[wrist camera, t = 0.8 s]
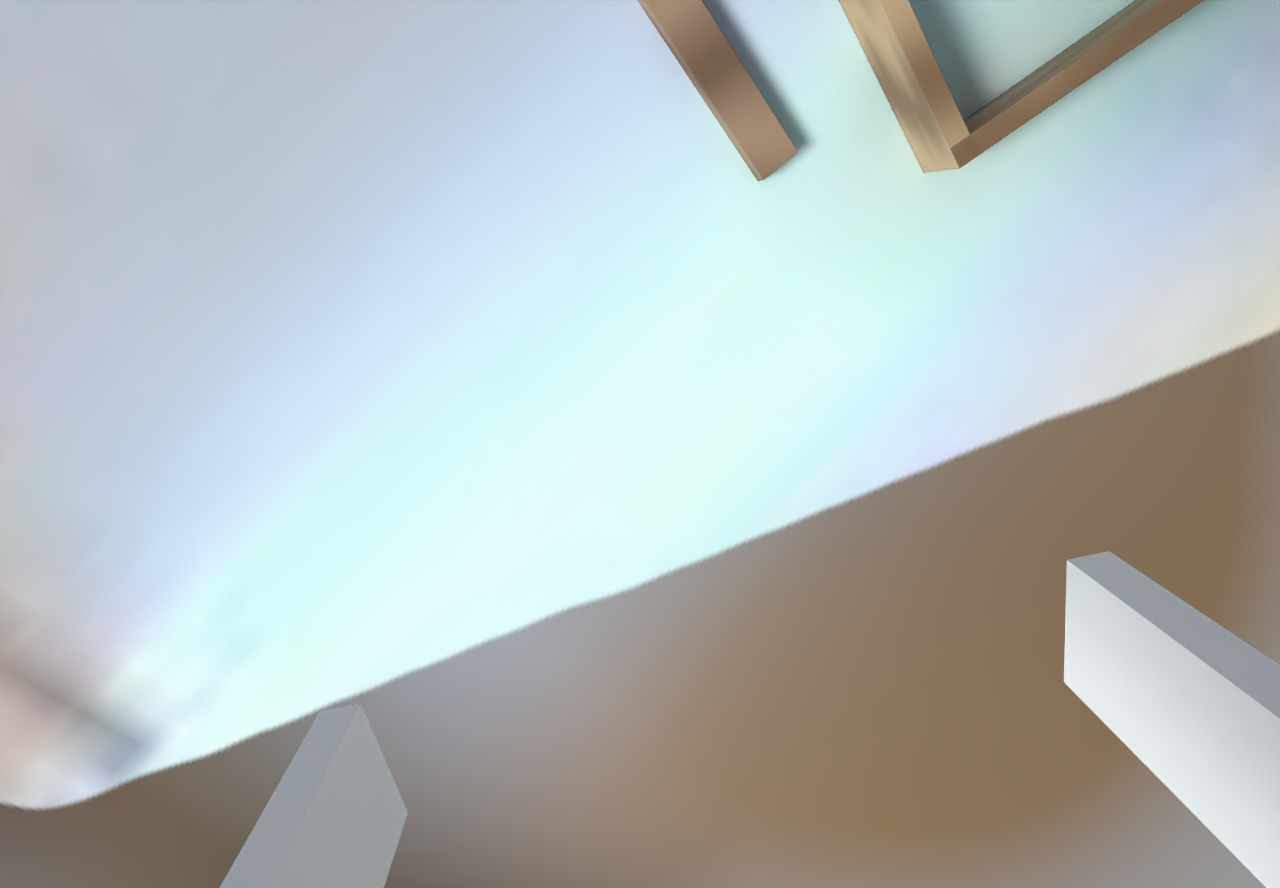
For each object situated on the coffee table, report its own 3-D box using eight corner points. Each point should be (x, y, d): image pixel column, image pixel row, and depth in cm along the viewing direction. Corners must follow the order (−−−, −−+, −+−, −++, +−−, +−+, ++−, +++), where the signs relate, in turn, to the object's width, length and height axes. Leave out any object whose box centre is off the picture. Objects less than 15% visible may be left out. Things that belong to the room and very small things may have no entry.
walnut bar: (605, -45, 30) (606, -59, 28) (640, -77, 29) (642, -93, 28) (756, 181, 33) (763, 180, 32) (788, 154, 33) (797, 152, 31)
